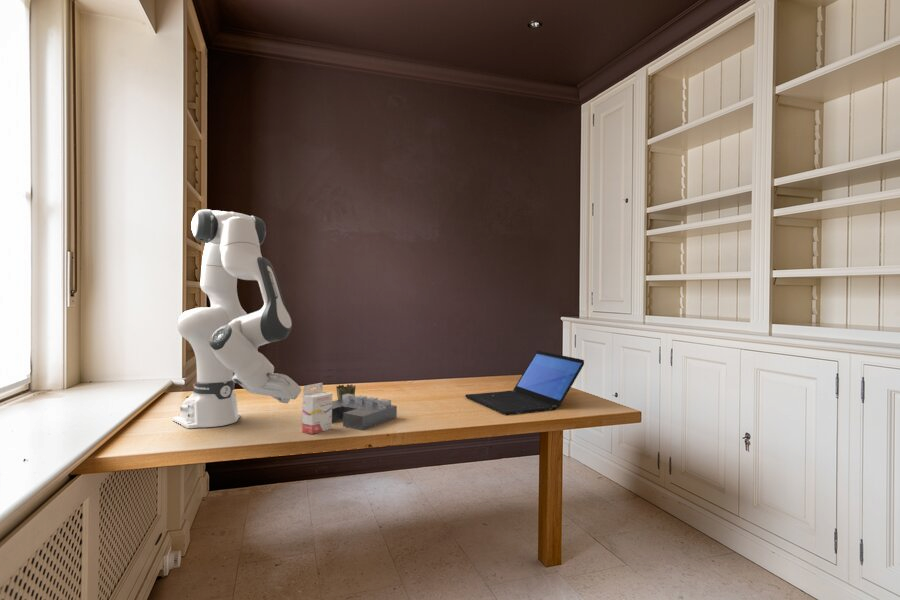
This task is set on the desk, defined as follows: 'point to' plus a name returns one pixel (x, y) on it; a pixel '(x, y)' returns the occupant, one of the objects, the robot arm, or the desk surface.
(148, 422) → the desk surface
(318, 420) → the ink cartridge box
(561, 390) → the laptop
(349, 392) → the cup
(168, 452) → the desk surface
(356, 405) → the castellated collar
